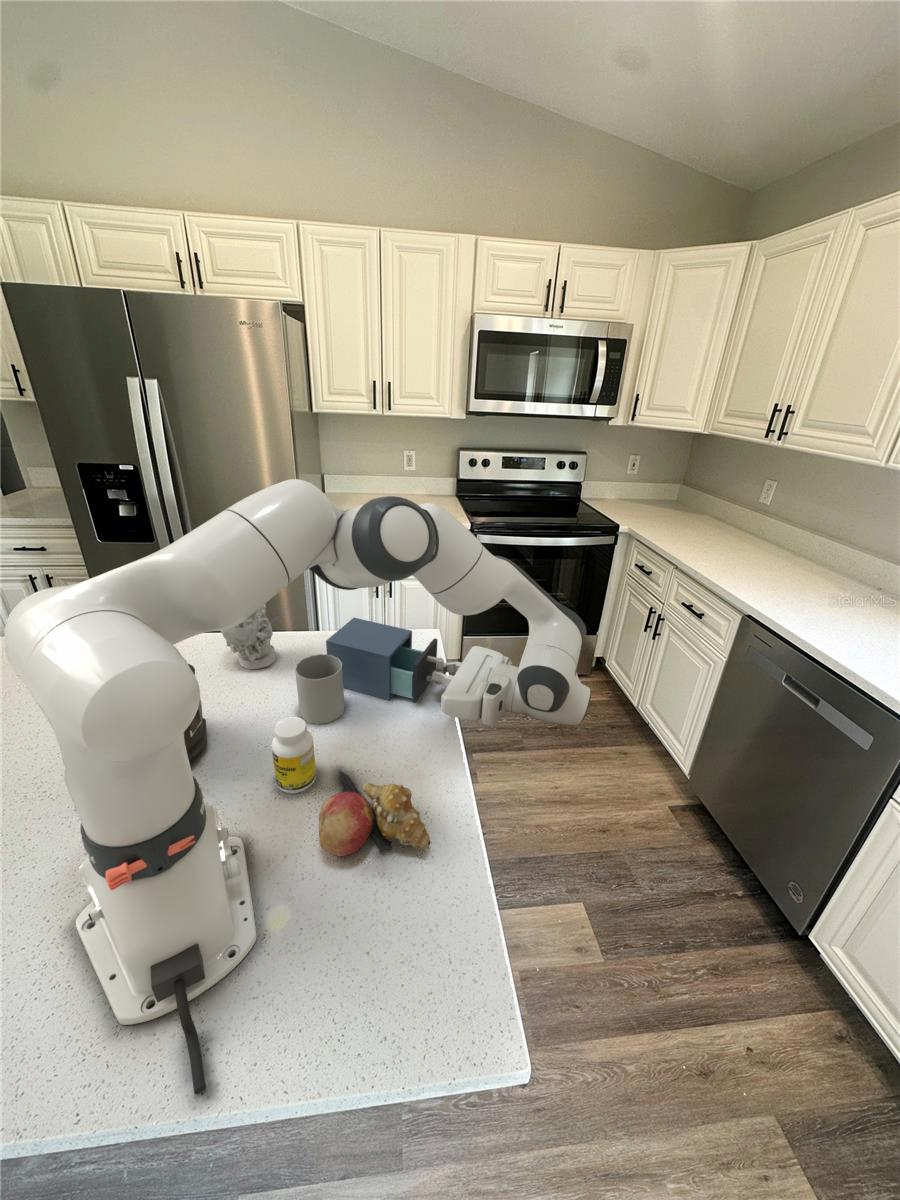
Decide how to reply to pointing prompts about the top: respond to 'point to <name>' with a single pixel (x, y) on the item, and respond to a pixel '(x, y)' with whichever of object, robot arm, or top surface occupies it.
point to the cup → (320, 688)
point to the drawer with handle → (414, 670)
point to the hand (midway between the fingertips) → (435, 670)
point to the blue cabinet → (367, 655)
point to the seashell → (397, 814)
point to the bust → (252, 640)
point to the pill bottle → (293, 755)
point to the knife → (375, 831)
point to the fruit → (345, 823)
